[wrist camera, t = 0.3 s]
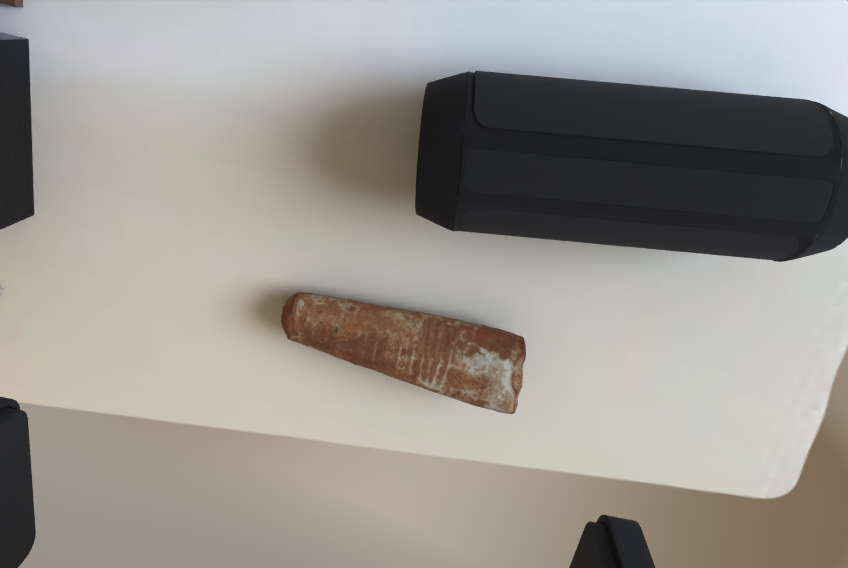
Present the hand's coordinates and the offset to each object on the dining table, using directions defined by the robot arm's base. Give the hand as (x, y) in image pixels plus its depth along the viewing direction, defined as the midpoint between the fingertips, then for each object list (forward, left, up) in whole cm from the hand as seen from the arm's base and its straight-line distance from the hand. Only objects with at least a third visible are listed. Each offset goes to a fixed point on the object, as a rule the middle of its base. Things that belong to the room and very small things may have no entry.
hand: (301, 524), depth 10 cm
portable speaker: (-2, +13, -37) cm, 39 cm away
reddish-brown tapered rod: (+15, +2, -37) cm, 40 cm away
